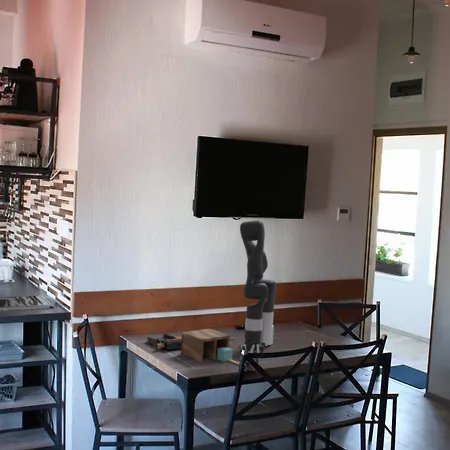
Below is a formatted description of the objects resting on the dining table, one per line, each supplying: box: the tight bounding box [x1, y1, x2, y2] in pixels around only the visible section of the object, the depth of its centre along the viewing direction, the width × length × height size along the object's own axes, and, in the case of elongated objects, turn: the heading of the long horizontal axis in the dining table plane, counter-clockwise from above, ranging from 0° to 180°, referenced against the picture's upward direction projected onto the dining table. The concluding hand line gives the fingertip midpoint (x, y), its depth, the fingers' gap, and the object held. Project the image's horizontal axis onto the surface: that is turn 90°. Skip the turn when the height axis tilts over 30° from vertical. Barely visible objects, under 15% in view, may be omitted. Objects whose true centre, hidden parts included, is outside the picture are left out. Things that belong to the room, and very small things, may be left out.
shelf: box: [180, 328, 231, 362], centre depth 293 cm, size 17×15×10 cm
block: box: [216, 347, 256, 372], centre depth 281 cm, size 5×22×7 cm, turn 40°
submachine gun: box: [146, 333, 182, 351], centre depth 311 cm, size 29×5×25 cm
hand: (251, 366), depth 274 cm, fingers closed on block, 4 cm apart
